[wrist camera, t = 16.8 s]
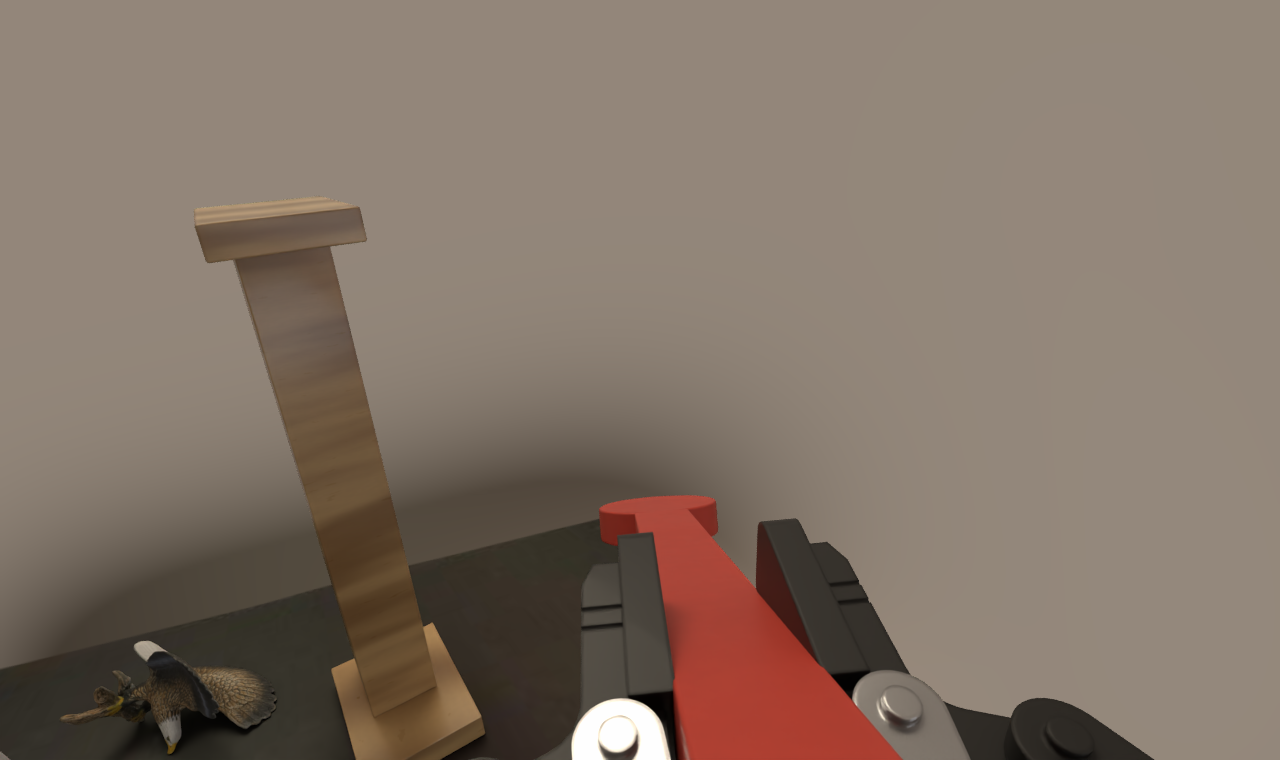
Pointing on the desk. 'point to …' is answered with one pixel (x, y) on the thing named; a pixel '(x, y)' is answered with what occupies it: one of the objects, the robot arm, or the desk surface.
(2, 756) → the bracket
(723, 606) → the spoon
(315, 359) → the stand
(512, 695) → the desk surface
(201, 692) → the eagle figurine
